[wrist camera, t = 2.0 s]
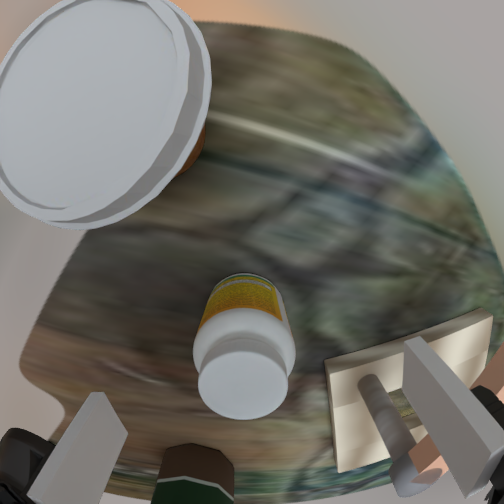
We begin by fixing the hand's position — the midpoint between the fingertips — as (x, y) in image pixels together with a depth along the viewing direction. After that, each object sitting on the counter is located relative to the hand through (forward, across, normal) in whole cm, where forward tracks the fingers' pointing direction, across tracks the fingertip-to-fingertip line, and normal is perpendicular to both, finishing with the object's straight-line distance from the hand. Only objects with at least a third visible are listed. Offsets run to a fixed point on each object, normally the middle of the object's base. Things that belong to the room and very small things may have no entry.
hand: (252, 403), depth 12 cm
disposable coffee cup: (+11, -4, +13) cm, 17 cm away
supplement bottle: (+11, -1, 0) cm, 11 cm away
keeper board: (+11, +12, -13) cm, 21 cm away
